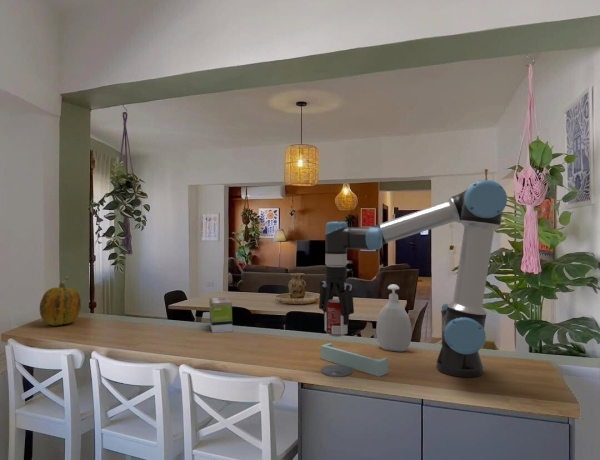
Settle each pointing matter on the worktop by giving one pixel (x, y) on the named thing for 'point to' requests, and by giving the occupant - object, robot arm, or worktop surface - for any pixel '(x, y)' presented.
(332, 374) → the coaster
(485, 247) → the robot arm
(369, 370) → the divider
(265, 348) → the worktop surface
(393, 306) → the soap bottle
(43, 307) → the pumpkin
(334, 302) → the soda can
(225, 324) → the tea box
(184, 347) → the worktop surface
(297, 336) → the worktop surface
